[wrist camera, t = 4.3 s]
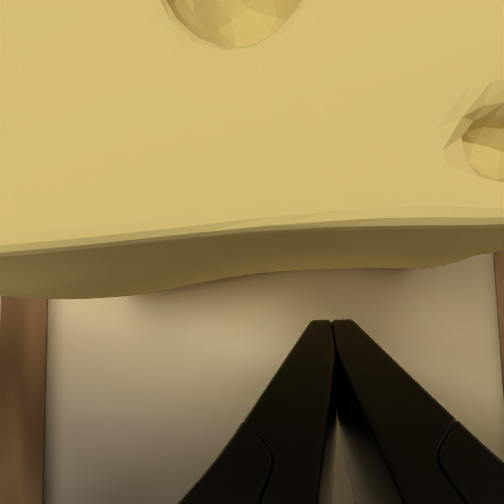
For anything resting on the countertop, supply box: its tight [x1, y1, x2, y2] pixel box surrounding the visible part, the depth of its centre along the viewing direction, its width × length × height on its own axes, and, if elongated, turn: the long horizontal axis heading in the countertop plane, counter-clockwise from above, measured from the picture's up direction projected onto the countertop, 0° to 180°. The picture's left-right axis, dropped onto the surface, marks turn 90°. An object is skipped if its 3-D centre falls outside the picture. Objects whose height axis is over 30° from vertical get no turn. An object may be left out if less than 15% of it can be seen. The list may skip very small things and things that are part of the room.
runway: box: [0, 250, 504, 504], centre depth 14 cm, size 22×29×4 cm
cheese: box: [0, 0, 504, 299], centre depth 11 cm, size 10×11×10 cm
